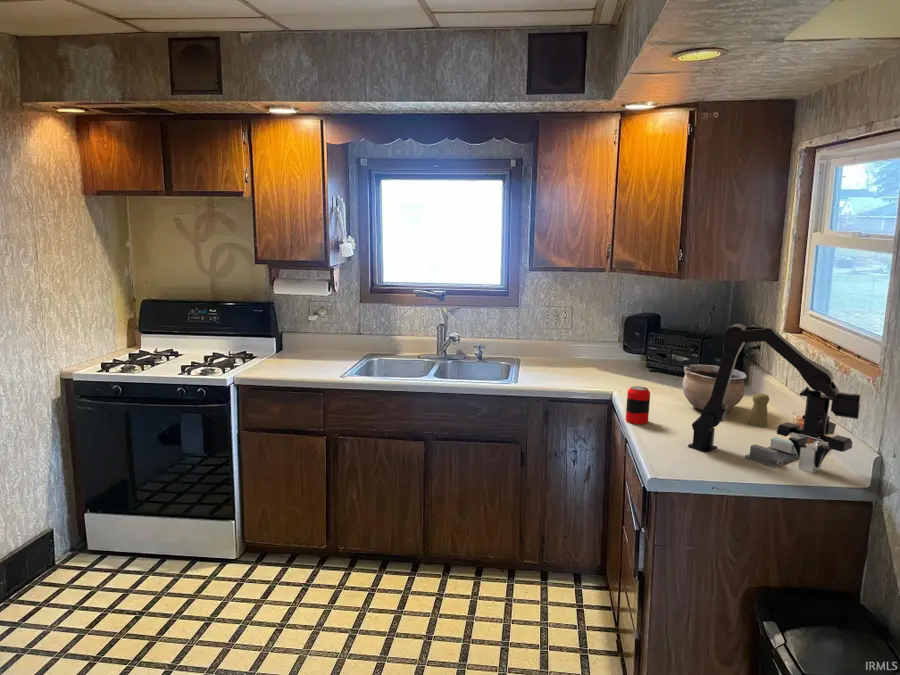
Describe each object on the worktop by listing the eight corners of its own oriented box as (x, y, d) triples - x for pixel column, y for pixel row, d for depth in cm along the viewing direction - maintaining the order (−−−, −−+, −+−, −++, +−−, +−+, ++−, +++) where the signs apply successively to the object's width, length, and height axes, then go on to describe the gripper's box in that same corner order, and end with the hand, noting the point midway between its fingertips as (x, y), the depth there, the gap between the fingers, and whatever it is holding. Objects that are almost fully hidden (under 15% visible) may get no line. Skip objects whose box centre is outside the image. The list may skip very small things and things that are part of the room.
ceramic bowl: (680, 398, 268) (683, 361, 265) (739, 404, 262) (743, 366, 259) (680, 414, 247) (684, 374, 244) (745, 421, 241) (750, 379, 238)
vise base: (774, 467, 197) (775, 454, 196) (744, 458, 204) (746, 445, 203) (799, 457, 206) (801, 444, 205) (770, 448, 213) (772, 436, 212)
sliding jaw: (792, 454, 205) (794, 441, 204) (769, 447, 210) (771, 435, 209) (807, 448, 210) (809, 435, 209) (785, 442, 216) (786, 429, 215)
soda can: (647, 425, 233) (650, 391, 231) (625, 423, 235) (627, 389, 233) (648, 419, 240) (650, 386, 238) (626, 417, 242) (628, 384, 240)
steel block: (812, 473, 193) (815, 451, 192) (798, 468, 196) (800, 447, 195) (820, 469, 196) (823, 447, 195) (806, 465, 199) (809, 443, 198)
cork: (751, 420, 241) (754, 390, 239) (769, 424, 237) (773, 393, 235) (746, 424, 237) (749, 394, 234) (764, 428, 233) (768, 397, 231)
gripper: (864, 416, 190) (857, 469, 193) (797, 400, 205) (791, 450, 208) (846, 422, 184) (839, 477, 187) (778, 406, 198) (772, 457, 201)
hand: (809, 464), depth 196 cm, fingers closed on steel block, 4 cm apart
